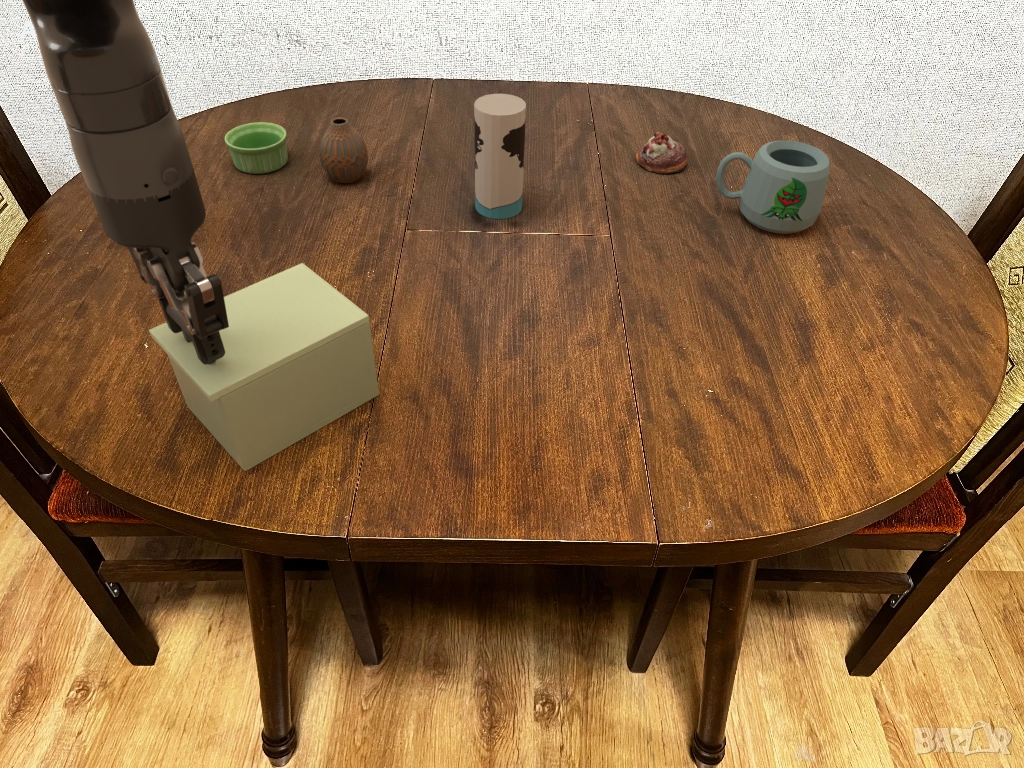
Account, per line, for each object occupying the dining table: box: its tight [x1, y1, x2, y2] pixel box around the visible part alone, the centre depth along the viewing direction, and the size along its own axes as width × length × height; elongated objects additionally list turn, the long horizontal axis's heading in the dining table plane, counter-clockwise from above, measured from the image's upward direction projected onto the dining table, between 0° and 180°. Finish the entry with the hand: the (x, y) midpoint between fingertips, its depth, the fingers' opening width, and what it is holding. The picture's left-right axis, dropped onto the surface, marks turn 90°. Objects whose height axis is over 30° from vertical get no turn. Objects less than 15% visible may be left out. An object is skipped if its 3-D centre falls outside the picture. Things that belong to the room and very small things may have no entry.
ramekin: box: [224, 121, 289, 175], centre depth 116 cm, size 9×9×4 cm
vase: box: [319, 116, 369, 184], centre depth 111 cm, size 7×7×9 cm
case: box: [167, 321, 380, 472], centre depth 77 cm, size 16×12×10 cm
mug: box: [715, 139, 831, 235], centre depth 106 cm, size 15×11×10 cm
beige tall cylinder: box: [473, 93, 527, 220], centre depth 104 cm, size 7×7×15 cm
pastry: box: [635, 131, 689, 175], centre depth 118 cm, size 8×8×5 cm
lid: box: [148, 262, 370, 402], centre depth 71 cm, size 17×12×5 cm
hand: (197, 342), depth 69 cm, fingers closed on lid, 5 cm apart
